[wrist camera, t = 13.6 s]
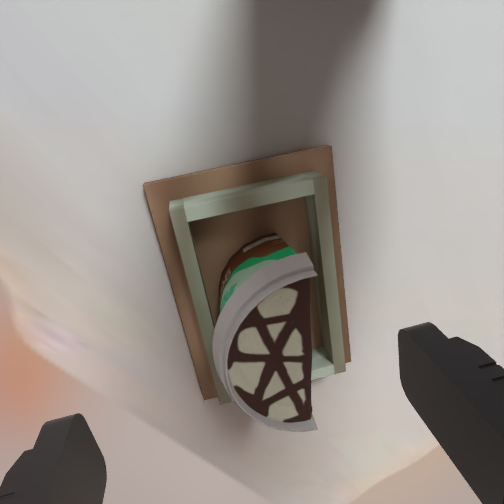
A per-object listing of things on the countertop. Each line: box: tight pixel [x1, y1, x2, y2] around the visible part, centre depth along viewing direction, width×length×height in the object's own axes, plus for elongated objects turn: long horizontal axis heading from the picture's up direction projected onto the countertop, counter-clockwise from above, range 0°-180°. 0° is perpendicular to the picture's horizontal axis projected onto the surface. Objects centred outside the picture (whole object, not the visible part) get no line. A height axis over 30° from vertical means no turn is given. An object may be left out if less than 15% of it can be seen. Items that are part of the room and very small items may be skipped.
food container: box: [212, 233, 318, 431], centre depth 28 cm, size 12×6×10 cm, turn 4°
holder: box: [143, 145, 351, 405], centre depth 32 cm, size 14×20×4 cm
